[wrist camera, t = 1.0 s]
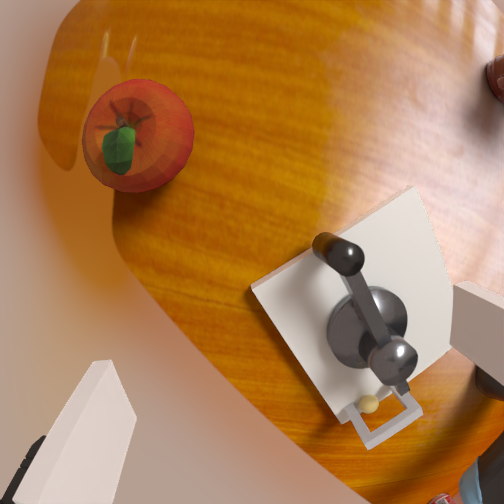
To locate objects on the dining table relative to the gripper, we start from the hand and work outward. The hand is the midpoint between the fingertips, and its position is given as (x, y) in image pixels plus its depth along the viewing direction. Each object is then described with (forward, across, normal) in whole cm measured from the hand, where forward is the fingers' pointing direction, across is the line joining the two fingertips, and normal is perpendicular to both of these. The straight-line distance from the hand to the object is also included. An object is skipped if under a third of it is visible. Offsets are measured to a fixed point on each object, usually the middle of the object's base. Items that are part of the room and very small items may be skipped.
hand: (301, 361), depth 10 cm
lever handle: (+19, +10, -8) cm, 23 cm away
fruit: (+21, -8, +12) cm, 25 cm away
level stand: (+21, +13, -10) cm, 26 cm away
